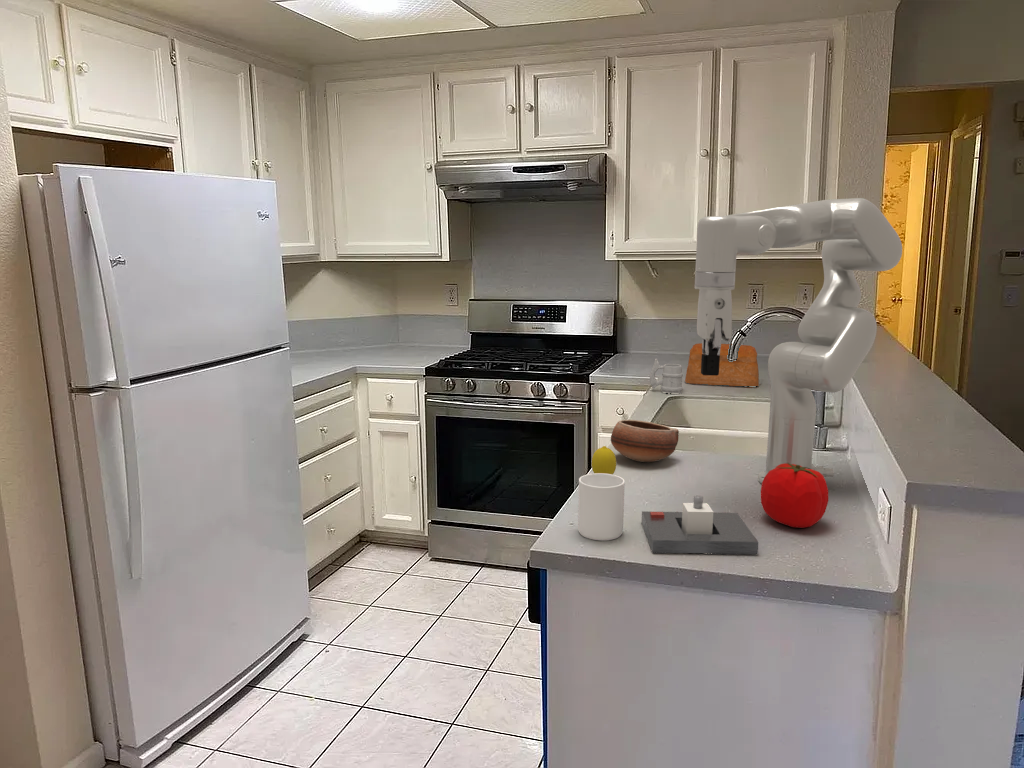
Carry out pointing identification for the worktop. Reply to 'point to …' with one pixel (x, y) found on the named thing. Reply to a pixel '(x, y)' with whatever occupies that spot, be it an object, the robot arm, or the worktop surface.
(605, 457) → the lemon
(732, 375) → the bread
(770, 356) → the robot arm
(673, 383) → the mug
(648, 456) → the bowl
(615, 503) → the cup
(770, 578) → the worktop surface
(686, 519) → the plug
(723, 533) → the socket
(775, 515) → the tomato
